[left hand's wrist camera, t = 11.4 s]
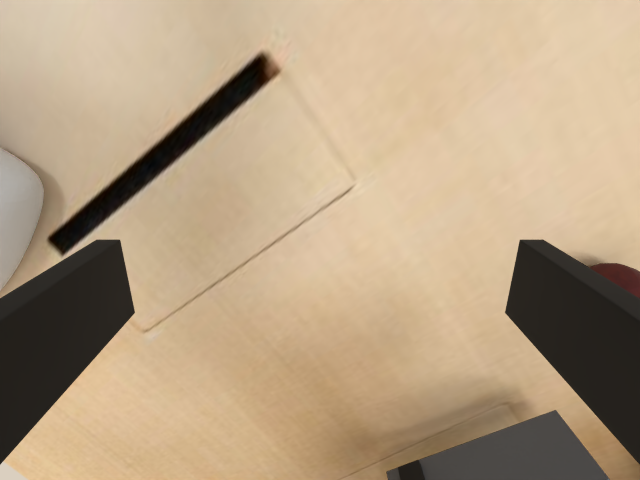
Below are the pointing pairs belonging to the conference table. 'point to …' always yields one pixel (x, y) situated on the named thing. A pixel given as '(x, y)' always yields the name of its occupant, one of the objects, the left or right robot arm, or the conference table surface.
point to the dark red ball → (620, 276)
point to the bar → (516, 455)
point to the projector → (17, 211)
